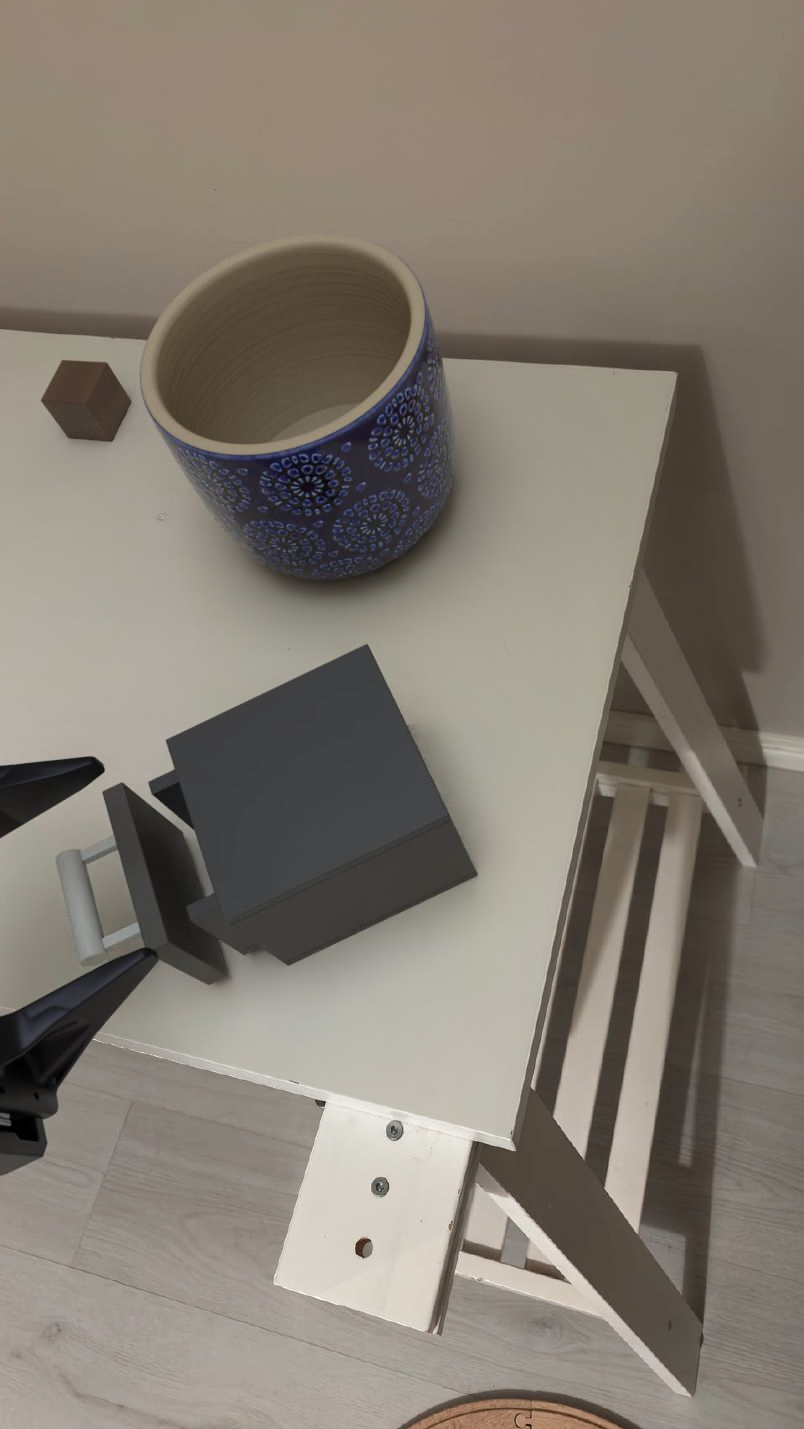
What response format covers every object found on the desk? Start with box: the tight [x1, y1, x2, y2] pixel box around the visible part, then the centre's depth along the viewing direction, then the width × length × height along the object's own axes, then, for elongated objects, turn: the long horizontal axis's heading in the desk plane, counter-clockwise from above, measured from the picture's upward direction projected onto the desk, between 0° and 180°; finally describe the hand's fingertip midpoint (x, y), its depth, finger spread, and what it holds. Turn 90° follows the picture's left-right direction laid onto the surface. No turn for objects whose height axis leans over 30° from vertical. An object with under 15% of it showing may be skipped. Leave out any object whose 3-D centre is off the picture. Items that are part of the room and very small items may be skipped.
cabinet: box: [165, 643, 479, 966], centre depth 52 cm, size 11×10×9 cm
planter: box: [139, 232, 457, 581], centre depth 60 cm, size 17×17×15 cm
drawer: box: [54, 768, 262, 986], centre depth 52 cm, size 14×9×8 cm, turn 113°
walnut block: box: [40, 359, 132, 442], centre depth 74 cm, size 4×4×4 cm
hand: (125, 853), depth 41 cm, fingers open, 9 cm apart
